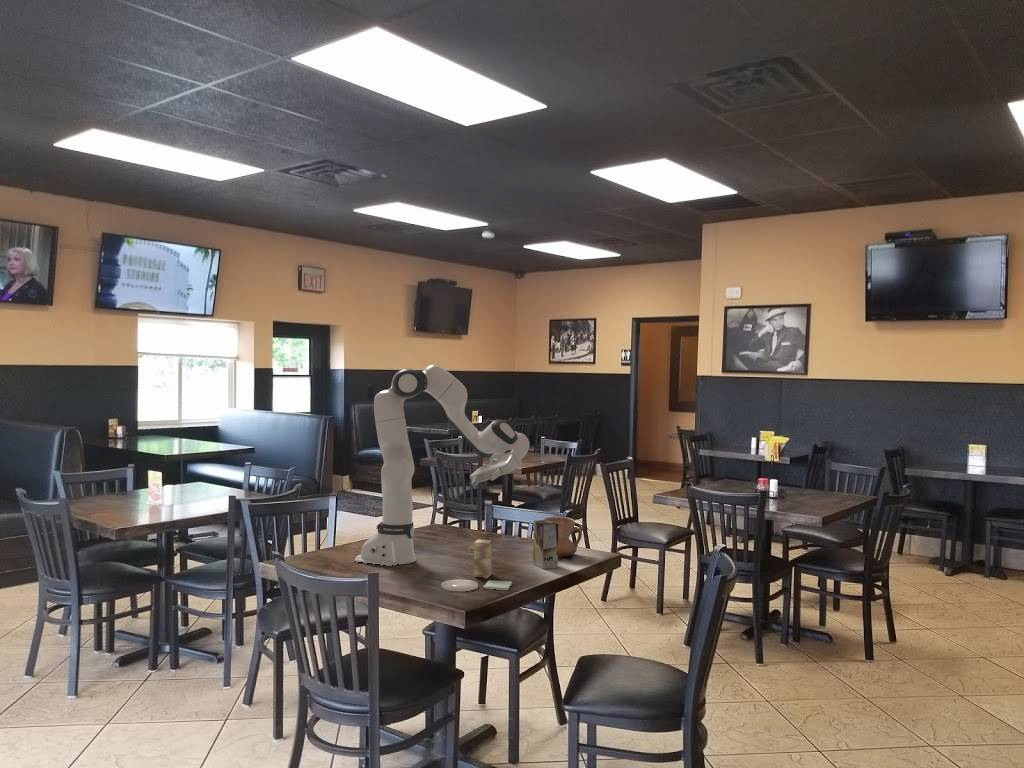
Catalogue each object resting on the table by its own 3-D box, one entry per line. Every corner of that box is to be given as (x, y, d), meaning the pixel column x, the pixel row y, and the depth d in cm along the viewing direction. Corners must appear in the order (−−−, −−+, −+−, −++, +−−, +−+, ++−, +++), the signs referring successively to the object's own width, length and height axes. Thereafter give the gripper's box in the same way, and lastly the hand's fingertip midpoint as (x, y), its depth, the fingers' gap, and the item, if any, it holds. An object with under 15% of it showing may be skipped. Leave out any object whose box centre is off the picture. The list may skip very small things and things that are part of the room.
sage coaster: (483, 588, 247) (483, 586, 247) (488, 582, 255) (488, 580, 255) (507, 590, 245) (507, 587, 245) (512, 584, 253) (512, 581, 253)
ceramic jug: (539, 560, 288) (541, 522, 288) (532, 551, 302) (534, 515, 302) (586, 560, 291) (587, 523, 291) (577, 551, 305) (578, 516, 305)
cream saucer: (436, 590, 244) (436, 587, 244) (446, 581, 255) (446, 578, 255) (473, 593, 241) (473, 590, 241) (481, 583, 253) (481, 580, 253)
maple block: (473, 577, 261) (474, 542, 261) (477, 573, 266) (477, 539, 266) (488, 578, 260) (488, 543, 260) (491, 574, 265) (491, 540, 265)
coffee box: (558, 567, 276) (559, 523, 276) (542, 569, 274) (543, 524, 274) (547, 562, 285) (548, 519, 285) (531, 563, 282) (532, 520, 282)
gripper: (478, 461, 290) (458, 480, 280) (516, 448, 277) (497, 467, 266) (487, 475, 291) (467, 494, 280) (525, 462, 278) (506, 482, 267)
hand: (482, 481), depth 273 cm, fingers open, 8 cm apart
